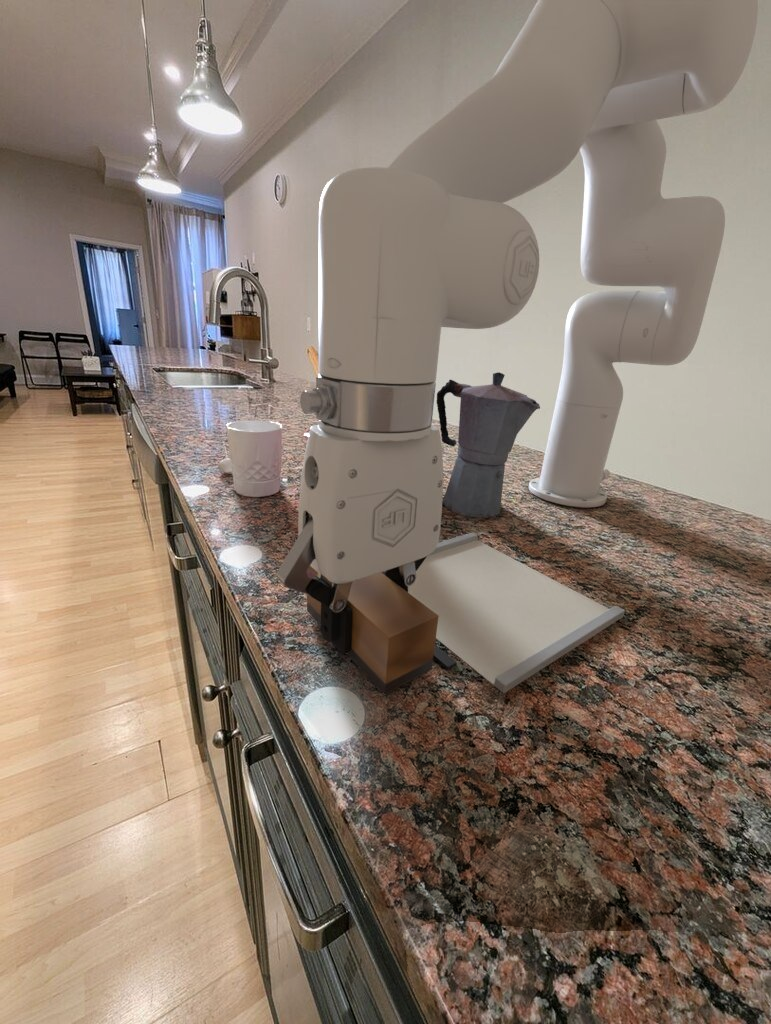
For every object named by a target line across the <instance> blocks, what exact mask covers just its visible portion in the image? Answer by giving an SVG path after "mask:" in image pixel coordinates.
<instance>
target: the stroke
mask: <svg viewBox="0 0 771 1024" xmlns="http://www.w3.org/2000/svg"><path fill="white" fill-rule="evenodd" d="M433 660H434V661H435V662H437V663H438V664H439V665H440V666H441V667H443V668H444V670H446V671H449V670H451V669H453V668H455V667H457V666H458V665H457V663H458V662H457V660H455V659H454V658H452V656H450V655H449V654H447V653H446V652H445V651H444V650H443V649H441V648H440V647H439V646H438V645H436V644H435V648H434V656H433Z"/></svg>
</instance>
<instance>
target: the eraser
mask: <svg viewBox="0 0 771 1024" xmlns="http://www.w3.org/2000/svg"><path fill="white" fill-rule="evenodd" d="M318 569H319V568H318V564H317V560H316V559H314V560H313V562H312V563H311V565H310V567H309V568H308V570H307V572H311V573H313V574H314V575H316V576H317V574H318ZM333 584H334V583H333ZM333 584H332V587H333ZM346 605H348V606H349V607H350V608H351V610H352V641H351V649H350V652H348V653H345V655H347V656H348V657H349V658H350V659H351V661H353V662H354V663H355V665H356V666H357V667H358V668H359V669H360V670H361V671H362V672H363V673H364V675H365V676H366V677H367V678H368V679H369V680H370V681H371V682H372V684H373V685H375V686H376V688H377V689H378V690H380V692H381V693H382V694H383V695H387V694H389V693H391V692H393V691H395V690H397V689H398V688H400V687H402V686H404V685H407V684H408V683H410V682H412V681H414V680H415V679H417V678H419V677H421V676H424V675H425V674H426V673H428V672H431V671H432V670H433V663H434V659H433V656H434V648H435V645H436V640H437V639H436V633H437V625H438V617H439V616H438V615H437V614H436V613H434V612H433V611H432V610H430V609H429V608H428V607H426V606H425V605H424V604H422V603H421V602H420V601H419V600H417V599H416V598H415V597H413V596H412V595H411V594H409V593H408V592H407V591H405V590H404V589H403V588H401V587H400V586H399V585H397V584H396V583H395V582H393V581H392V580H391V579H389V578H388V577H387V576H385V575H384V574H383V573H378V574H375V575H372V576H368V577H365V578H362V579H359V580H356V581H352V585H351V589H350V593H349V597H348V601H347V604H346ZM306 612H307V613H308V614H309V615H310V616H311V617H312V619H314V620H315V621H316V623H317V624H319V626H321V602H319V601H317V600H316V599H314V598H312V597H311V596H310V595H308V594H306Z"/></svg>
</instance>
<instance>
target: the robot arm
mask: <svg viewBox="0 0 771 1024" xmlns="http://www.w3.org/2000/svg"><path fill="white" fill-rule="evenodd" d="M758 12H759V0H537V1H536V3H535V5H534V7H533V8H532V9H531V12H530V13H529V15H528V16H527V18H526V20H525V22H524V23H523V25H522V27H521V30H520V31H519V32H518V34H517V36H516V38H515V39H514V41H513V42H512V45H511V46H510V47H509V49H508V51H507V53H506V54H505V55H504V57H503V59H502V60H501V62H500V64H499V66H498V68H497V69H496V71H495V72H494V74H493V75H492V77H491V78H490V79H488V80H487V81H486V82H484V83H483V84H482V85H480V86H479V87H478V88H476V89H475V90H474V91H473V92H471V93H469V95H467V96H465V98H463V99H462V100H461V101H459V102H458V104H456V105H455V106H454V107H453V108H452V109H450V110H449V111H447V113H445V115H443V116H442V117H441V118H440V119H439V120H437V121H436V122H435V123H433V124H432V125H431V126H430V127H428V128H427V130H425V131H423V133H422V134H420V135H419V136H417V137H416V138H415V139H414V140H413V141H411V143H409V144H408V145H407V146H406V147H405V148H404V149H403V150H402V151H401V152H400V153H399V154H398V155H397V156H395V158H394V159H393V160H392V161H391V163H390V164H388V166H386V167H381V166H380V167H379V166H378V167H375V166H374V167H373V166H372V167H360V168H356V169H350V170H347V171H342V172H340V173H337V175H335V176H334V177H332V178H331V179H330V180H329V181H328V182H327V183H326V185H325V186H324V188H323V189H322V190H323V191H322V193H321V196H320V200H319V206H318V207H319V208H318V376H316V378H315V384H316V385H315V388H313V390H304V391H302V392H301V393H300V399H299V403H300V408H301V412H303V414H305V415H310V414H311V415H313V414H314V415H315V418H316V419H317V421H318V424H315V425H311V426H310V428H309V429H310V432H309V436H308V440H307V442H306V446H305V451H304V456H303V461H302V462H303V463H302V468H301V474H300V475H301V476H300V484H299V486H300V487H299V497H298V498H299V499H298V523H297V524H298V525H297V528H298V531H297V534H298V536H297V538H296V539H295V541H294V543H293V544H292V546H291V548H290V549H289V551H288V553H287V555H286V556H285V558H284V559H283V561H282V562H281V564H280V566H279V567H278V569H277V571H276V578H277V579H278V581H280V583H281V584H283V586H284V587H286V588H287V589H290V590H293V591H296V592H299V593H302V594H306V595H307V594H308V595H310V596H311V597H312V598H314V599H316V600H317V601H319V602H321V625H320V631H321V634H322V636H323V638H324V640H326V641H327V643H332V645H333V646H334V647H335V648H336V649H337V650H338V651H339V652H340V653H341V654H342V655H346V653H348V652H350V649H351V641H352V610H351V608H350V607H349V606H348V605H346V604H347V601H348V597H349V593H350V589H351V585H352V581H356V580H359V579H362V578H365V577H368V576H372V575H375V574H378V573H383V574H384V575H385V576H387V577H388V578H389V579H391V580H392V581H393V582H395V583H396V584H397V585H399V586H400V587H401V588H403V589H404V590H405V591H407V592H408V586H411V585H413V584H414V582H415V581H416V571H417V570H418V568H419V567H420V565H421V564H422V563H423V561H424V560H425V559H426V557H427V556H428V555H429V554H431V553H432V552H433V551H434V550H435V549H436V547H437V545H438V542H441V541H442V538H443V535H444V533H443V530H442V529H441V526H442V515H443V499H444V496H443V495H444V459H443V448H442V447H443V446H442V437H441V431H440V427H438V426H437V425H435V424H433V415H434V405H435V396H436V395H435V394H436V385H437V384H436V383H437V382H436V381H437V373H438V362H439V353H440V345H441V344H440V343H441V334H442V328H451V329H465V330H484V329H491V328H495V327H498V326H501V325H503V324H506V323H508V322H509V321H511V320H512V319H514V318H515V317H516V316H518V314H520V312H521V311H522V310H523V309H524V308H525V307H526V305H527V304H528V302H529V301H530V299H531V297H532V295H533V293H534V290H535V288H536V285H537V282H538V276H539V273H540V249H539V243H538V240H537V236H536V233H535V232H534V229H533V227H532V226H531V224H530V222H529V221H528V219H527V218H526V217H525V216H524V215H523V214H522V213H521V212H520V211H518V210H517V209H516V208H514V207H512V206H510V205H508V204H507V203H506V202H509V201H511V200H514V199H515V198H518V197H521V196H522V195H524V194H526V193H528V192H530V191H532V190H534V189H536V188H538V187H540V186H542V185H544V184H546V183H547V182H549V181H550V180H552V179H553V178H556V177H557V176H558V175H559V174H561V173H562V172H564V170H565V169H567V167H569V165H570V164H571V163H572V161H574V159H575V158H576V157H577V155H578V153H579V152H580V155H581V158H582V162H583V169H584V189H583V206H582V222H581V237H580V239H581V240H580V257H579V258H580V272H581V275H582V277H583V279H585V281H586V282H588V283H589V284H592V285H597V286H605V287H607V286H608V287H659V288H662V289H663V290H664V291H658V290H656V291H655V290H653V291H651V290H649V291H648V290H619V289H617V290H615V289H614V290H610V289H609V290H608V289H607V290H597V291H592V292H589V293H585V294H584V295H582V296H580V297H578V298H577V299H576V300H575V301H574V302H573V304H572V305H571V307H570V308H569V310H568V312H567V316H566V320H565V327H564V345H563V346H564V347H563V357H562V359H563V360H562V366H561V367H562V368H561V372H560V373H561V374H560V379H559V385H558V391H557V395H556V399H555V404H554V409H553V413H552V418H551V423H550V427H549V433H548V438H547V442H546V446H545V452H544V455H543V456H544V457H543V461H542V466H541V471H540V476H539V477H536V478H533V479H531V480H530V481H529V483H528V490H529V492H530V493H531V494H532V495H534V496H535V497H537V498H540V499H541V500H544V501H546V502H550V503H552V504H557V505H561V506H566V507H571V508H572V507H574V508H588V509H589V508H597V507H601V506H604V505H605V504H606V503H607V499H608V495H607V493H606V492H605V491H604V490H603V489H601V488H600V486H601V481H603V480H604V481H605V480H607V479H609V478H610V476H611V473H610V472H611V471H610V470H609V469H608V468H605V466H606V463H607V459H608V455H609V452H610V449H611V445H612V441H613V437H614V433H615V430H616V425H617V422H618V418H619V414H620V410H621V407H622V403H623V399H624V386H623V383H622V381H621V379H620V377H619V375H618V373H617V371H616V369H615V368H614V367H615V366H614V363H627V364H628V363H629V364H639V365H649V366H666V367H667V366H674V365H678V364H680V363H682V362H684V361H685V360H686V359H687V358H688V357H689V356H690V355H691V353H692V352H693V350H694V347H695V345H696V344H697V340H698V337H699V335H700V332H701V328H702V324H703V321H704V317H705V313H706V308H707V305H708V301H709V297H710V293H711V289H712V284H713V281H714V276H715V273H716V268H717V265H718V262H719V257H720V253H721V249H722V245H723V240H724V235H725V226H726V216H725V215H726V213H725V209H724V206H723V204H722V203H721V202H720V200H719V199H717V198H714V197H712V196H706V195H697V196H696V195H693V196H682V197H671V198H664V197H663V196H662V193H661V190H662V182H663V175H664V169H665V163H666V158H667V143H666V139H665V136H664V133H663V130H662V129H661V126H660V124H659V122H658V121H657V120H664V119H669V118H674V117H679V116H685V115H686V116H688V115H692V114H697V113H701V112H705V111H708V110H710V109H712V108H714V107H715V106H717V105H719V104H720V103H721V102H723V101H724V100H725V99H726V98H727V97H728V96H729V95H730V93H731V92H732V90H734V88H735V87H736V85H737V83H738V82H739V79H740V78H741V76H742V74H743V72H744V70H745V67H746V65H747V62H748V60H749V57H750V54H751V50H752V47H753V43H754V39H755V35H756V30H757V25H758V24H757V23H758ZM313 560H317V564H318V568H319V569H318V574H317V576H316V575H314V574H313V573H311V572H307V570H308V568H309V567H310V565H311V563H312V562H313ZM385 571H386V572H385ZM333 583H334V584H333ZM332 584H333V587H332Z"/></svg>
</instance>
